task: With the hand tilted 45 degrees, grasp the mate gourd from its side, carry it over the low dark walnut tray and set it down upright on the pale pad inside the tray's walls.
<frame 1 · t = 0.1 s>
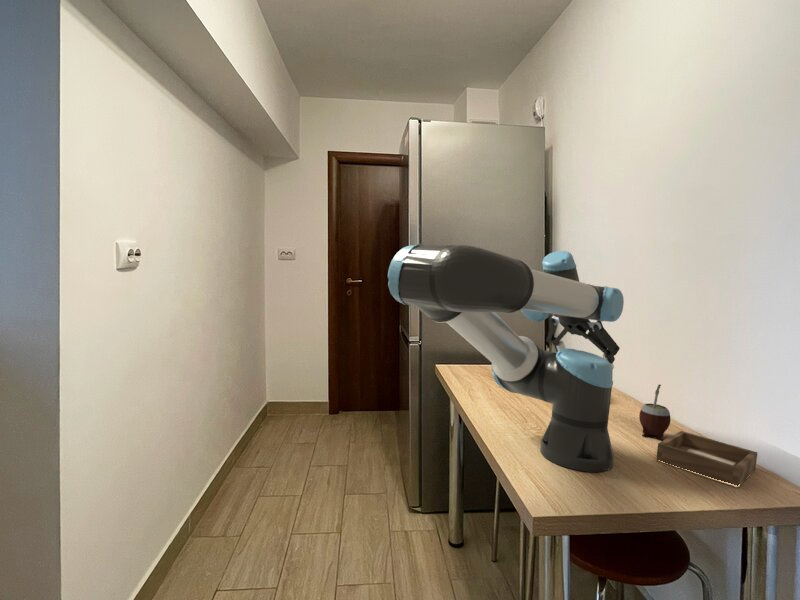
hand: (586, 365, 127), 15 cm above the table, tool tilted 35°, fingers open, 13 cm apart
tray: (705, 465, 99), on the table
mate gourd: (653, 437, 116), on the table
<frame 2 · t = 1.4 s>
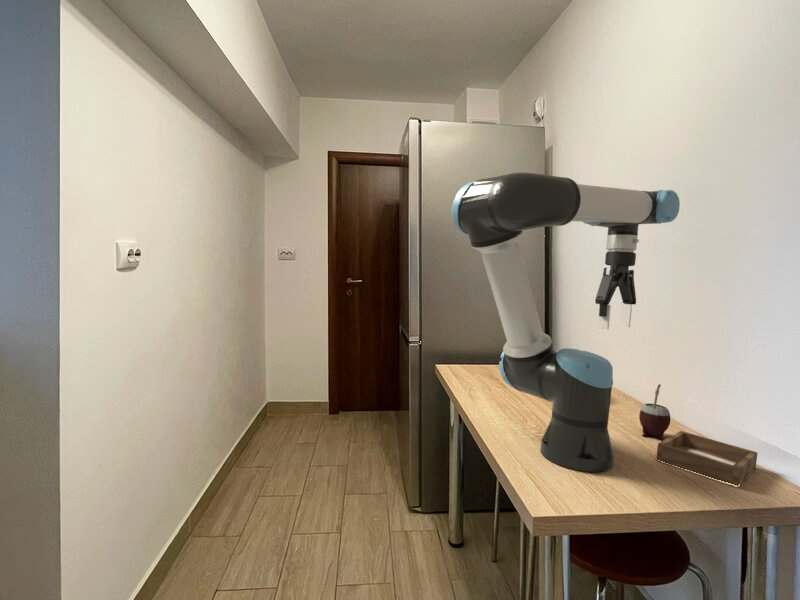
hand: (614, 327, 124), 27 cm above the table, tool pointing down, fingers open, 13 cm apart
nothing on the table moved.
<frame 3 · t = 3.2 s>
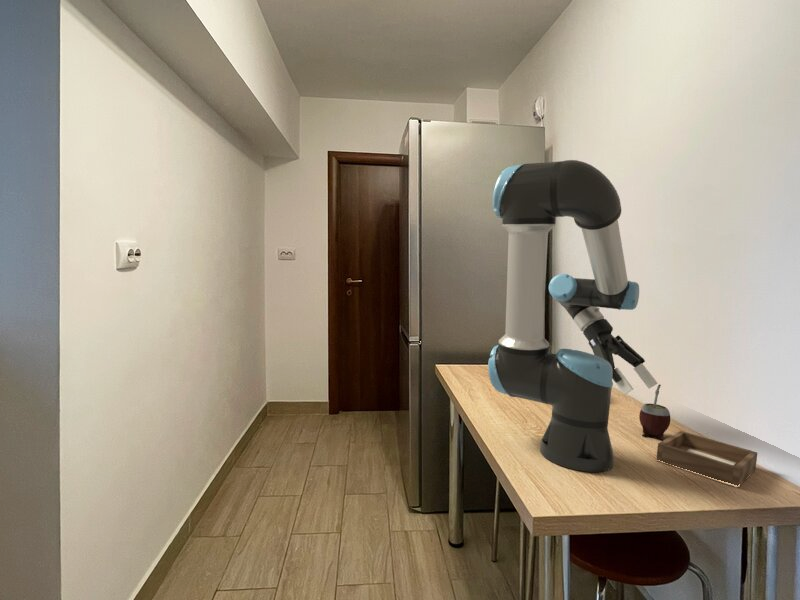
hand: (641, 389, 118), 12 cm above the table, tool tilted 45°, fingers open, 13 cm apart
nothing on the table moved.
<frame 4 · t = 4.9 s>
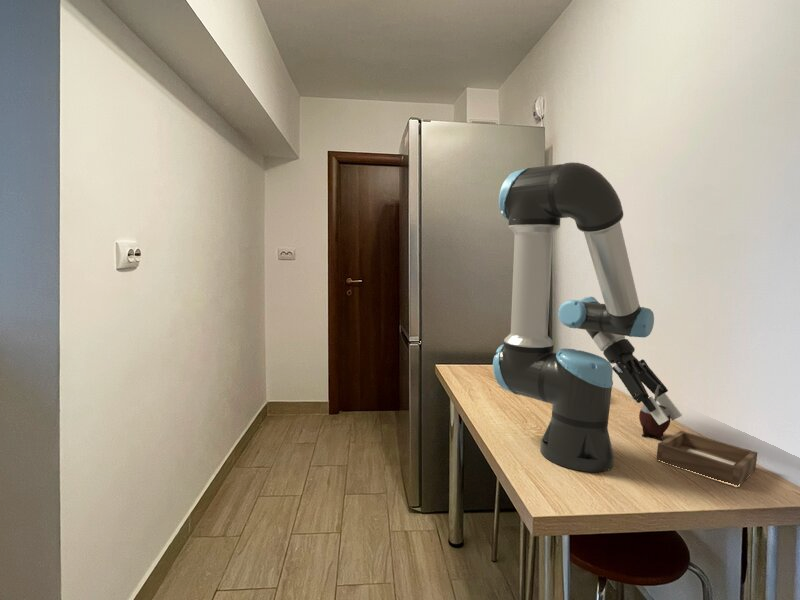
hand: (670, 419, 112), 6 cm above the table, tool tilted 45°, fingers closed on mate gourd, 7 cm apart
mate gourd: (653, 437, 116), on the table, touching gripper
everything else where it was.
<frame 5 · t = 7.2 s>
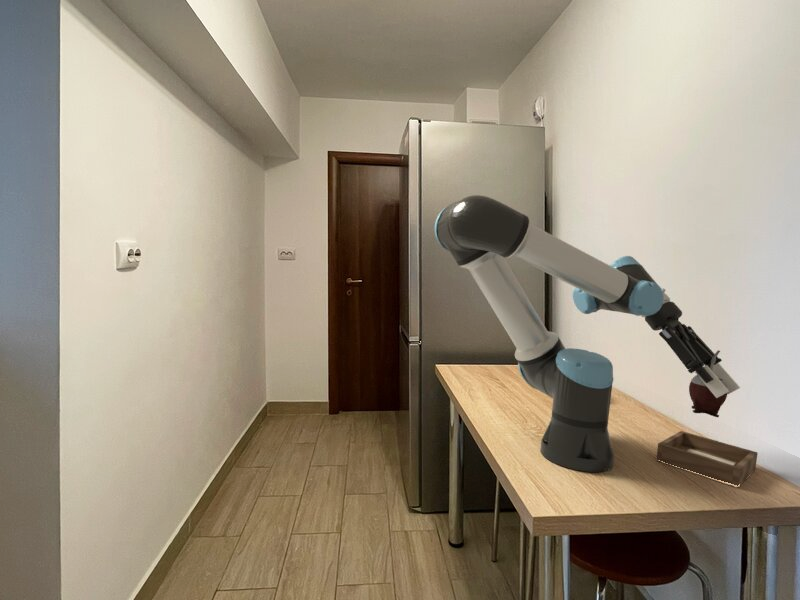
hand: (728, 392, 97), 17 cm above the table, tool tilted 45°, fingers closed on mate gourd, 7 cm apart
mate gourd: (705, 414, 100), point 11 cm above the table, touching gripper
everything else where it was.
when the fingers open (8 cm above the table, at t = 9.4 s): mate gourd drops 1 cm, resting on tray.
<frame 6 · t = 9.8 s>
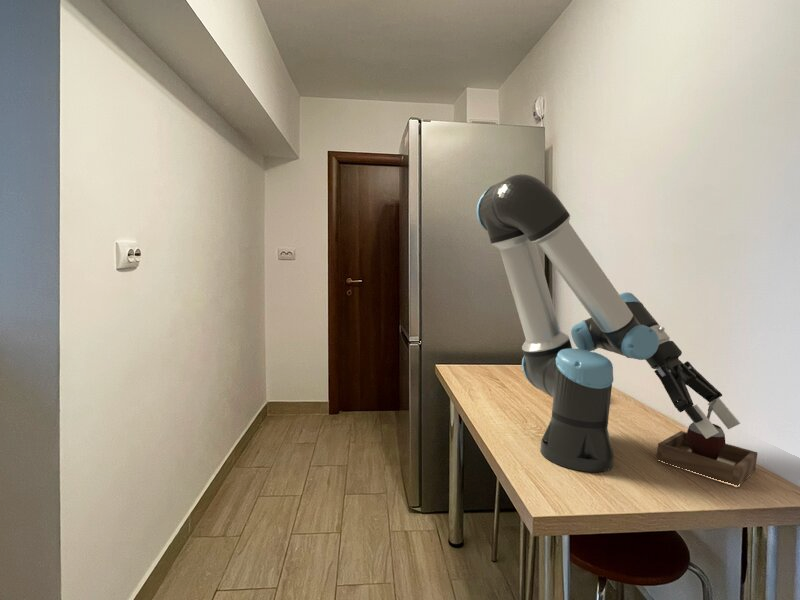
hand: (724, 431, 96), 9 cm above the table, tool tilted 45°, fingers open, 11 cm apart
mate gourd: (704, 461, 99), point 1 cm above the table, touching tray
everything else where it was.
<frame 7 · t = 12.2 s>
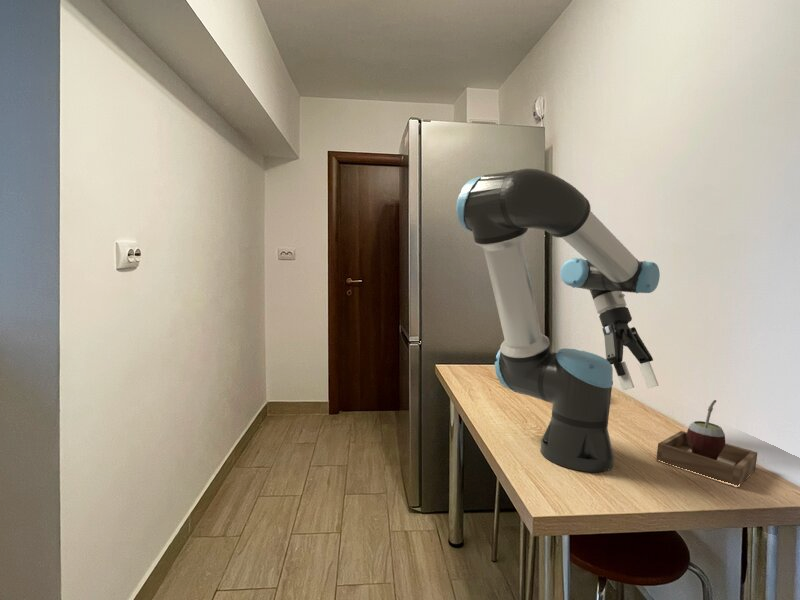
hand: (641, 387, 113), 13 cm above the table, tool tilted 30°, fingers open, 13 cm apart
nothing on the table moved.
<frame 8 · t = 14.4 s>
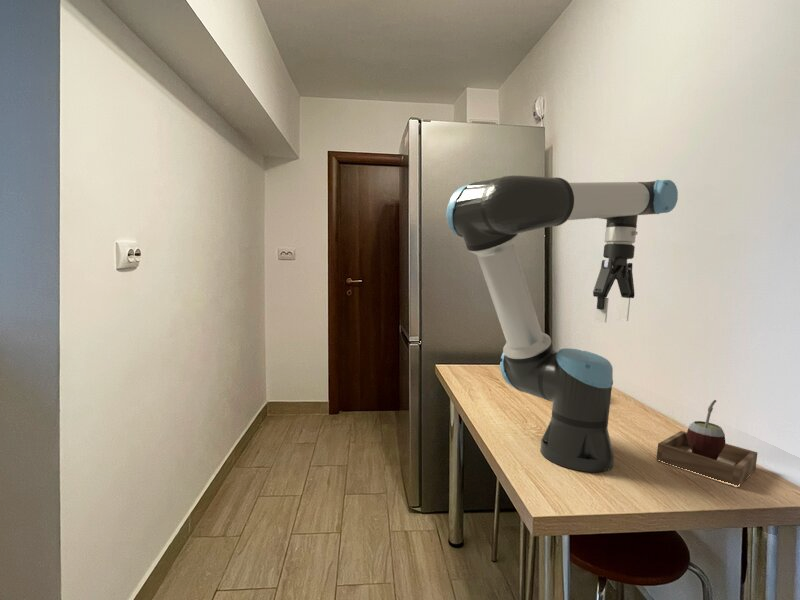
hand: (611, 321, 123), 29 cm above the table, tool pointing down, fingers open, 13 cm apart
nothing on the table moved.
at the end: mate gourd inside the target area on the tray (0.8 cm from its centre), point 1.0 cm above the tray's base; mate gourd tilted 0°; the gripper is holding nothing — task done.
